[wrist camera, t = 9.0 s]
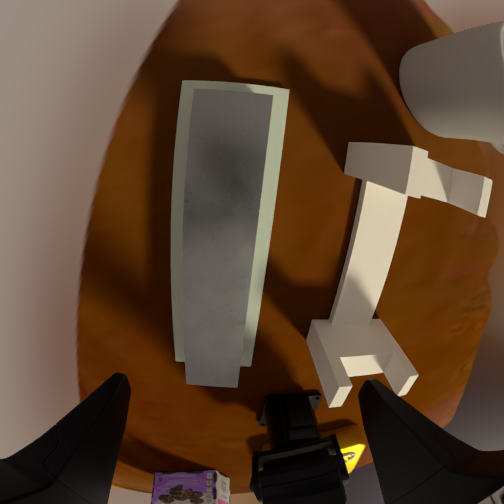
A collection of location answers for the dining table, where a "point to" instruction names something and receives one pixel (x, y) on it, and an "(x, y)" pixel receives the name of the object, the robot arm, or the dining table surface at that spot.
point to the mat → (264, 213)
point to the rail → (221, 228)
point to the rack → (380, 262)
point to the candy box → (191, 488)
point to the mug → (458, 84)
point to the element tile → (344, 443)
